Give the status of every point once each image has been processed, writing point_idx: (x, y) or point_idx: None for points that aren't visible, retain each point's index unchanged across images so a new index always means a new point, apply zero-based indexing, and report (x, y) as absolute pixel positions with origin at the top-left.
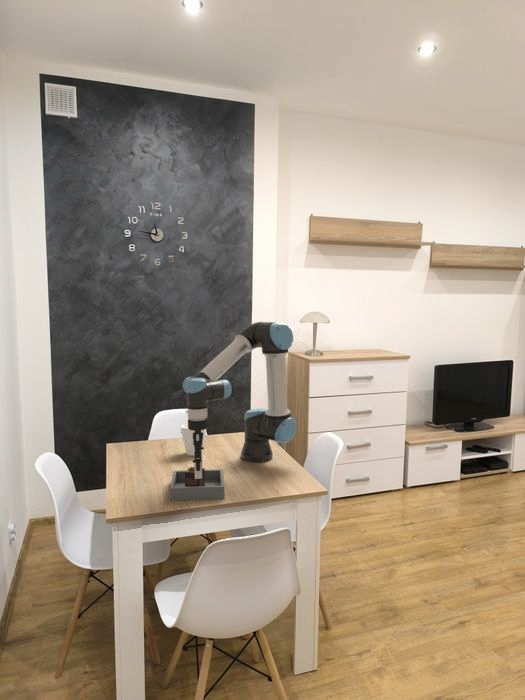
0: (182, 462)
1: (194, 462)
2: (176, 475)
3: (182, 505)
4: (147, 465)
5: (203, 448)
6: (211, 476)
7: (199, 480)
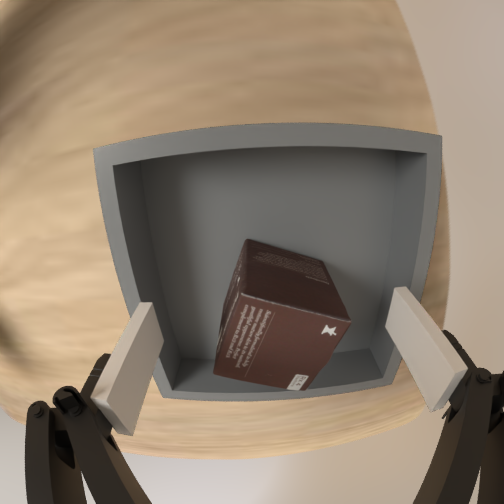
0: (7, 325)
1: (442, 404)
2: (175, 376)
3: (428, 305)
4: None
5: (69, 397)
6: (138, 213)
7: (335, 289)
